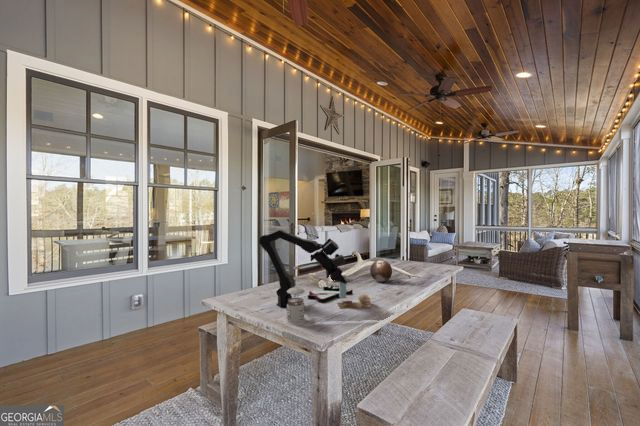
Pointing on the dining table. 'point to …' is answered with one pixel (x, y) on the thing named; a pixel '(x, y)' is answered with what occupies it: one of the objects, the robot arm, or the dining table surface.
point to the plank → (342, 289)
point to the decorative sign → (327, 293)
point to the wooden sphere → (381, 271)
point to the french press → (295, 311)
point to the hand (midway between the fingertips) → (345, 282)
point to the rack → (356, 303)
